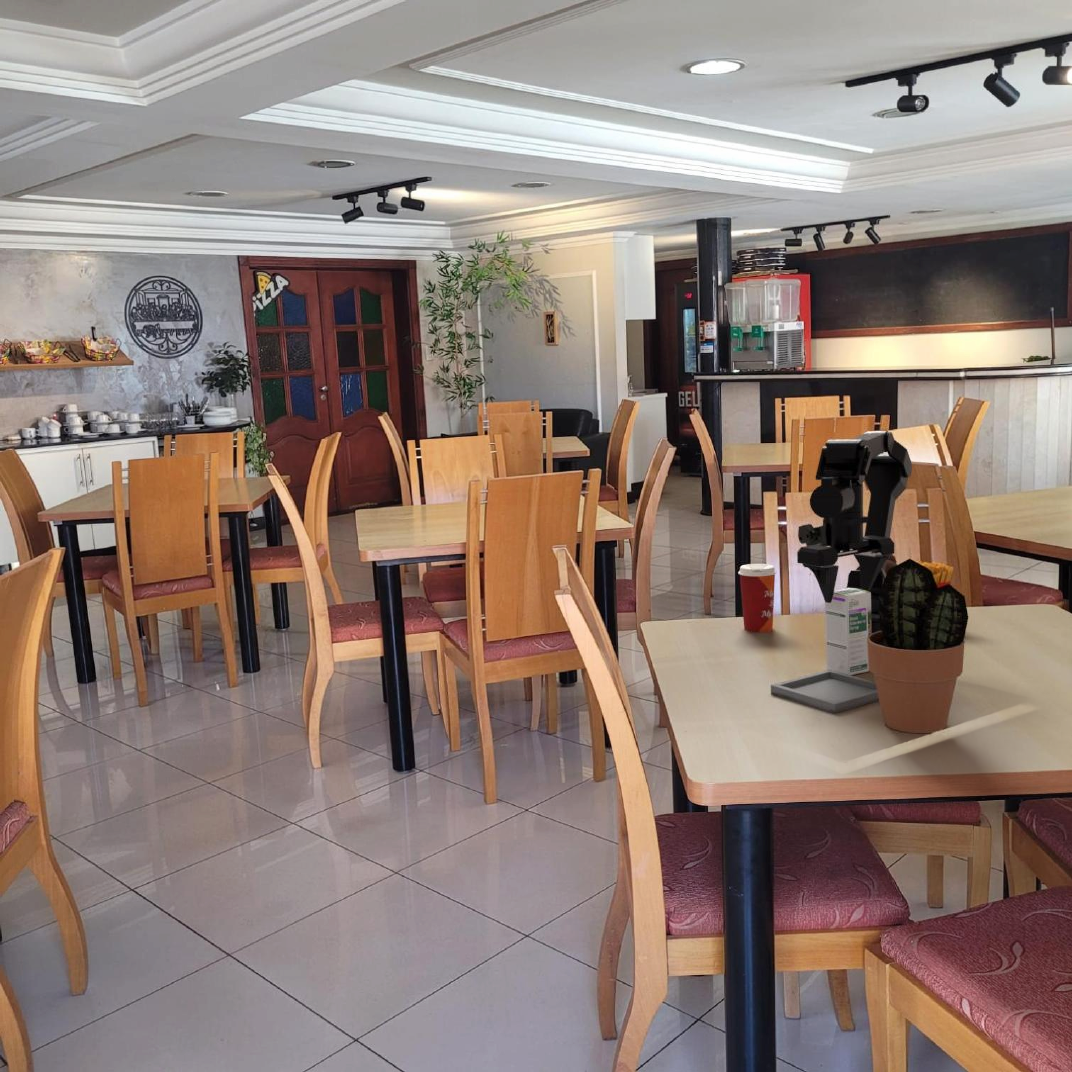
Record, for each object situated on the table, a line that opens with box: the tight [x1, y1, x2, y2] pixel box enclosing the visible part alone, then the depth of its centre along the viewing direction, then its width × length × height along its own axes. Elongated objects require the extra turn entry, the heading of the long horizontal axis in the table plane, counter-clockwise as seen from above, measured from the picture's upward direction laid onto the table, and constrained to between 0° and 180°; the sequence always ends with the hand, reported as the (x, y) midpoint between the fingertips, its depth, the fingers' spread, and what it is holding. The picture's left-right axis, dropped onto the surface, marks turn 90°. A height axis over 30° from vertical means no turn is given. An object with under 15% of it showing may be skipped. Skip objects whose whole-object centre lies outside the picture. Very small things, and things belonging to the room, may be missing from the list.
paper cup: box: [737, 563, 777, 633], centre depth 218 cm, size 8×8×14 cm
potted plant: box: [867, 558, 969, 734], centre depth 157 cm, size 14×14×25 cm
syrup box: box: [824, 587, 872, 676], centre depth 187 cm, size 6×6×14 cm
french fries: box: [914, 560, 954, 588], centre depth 217 cm, size 9×4×13 cm, turn 55°
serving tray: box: [770, 669, 880, 714], centre depth 175 cm, size 14×14×2 cm
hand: (846, 598), depth 187 cm, fingers open, 9 cm apart
